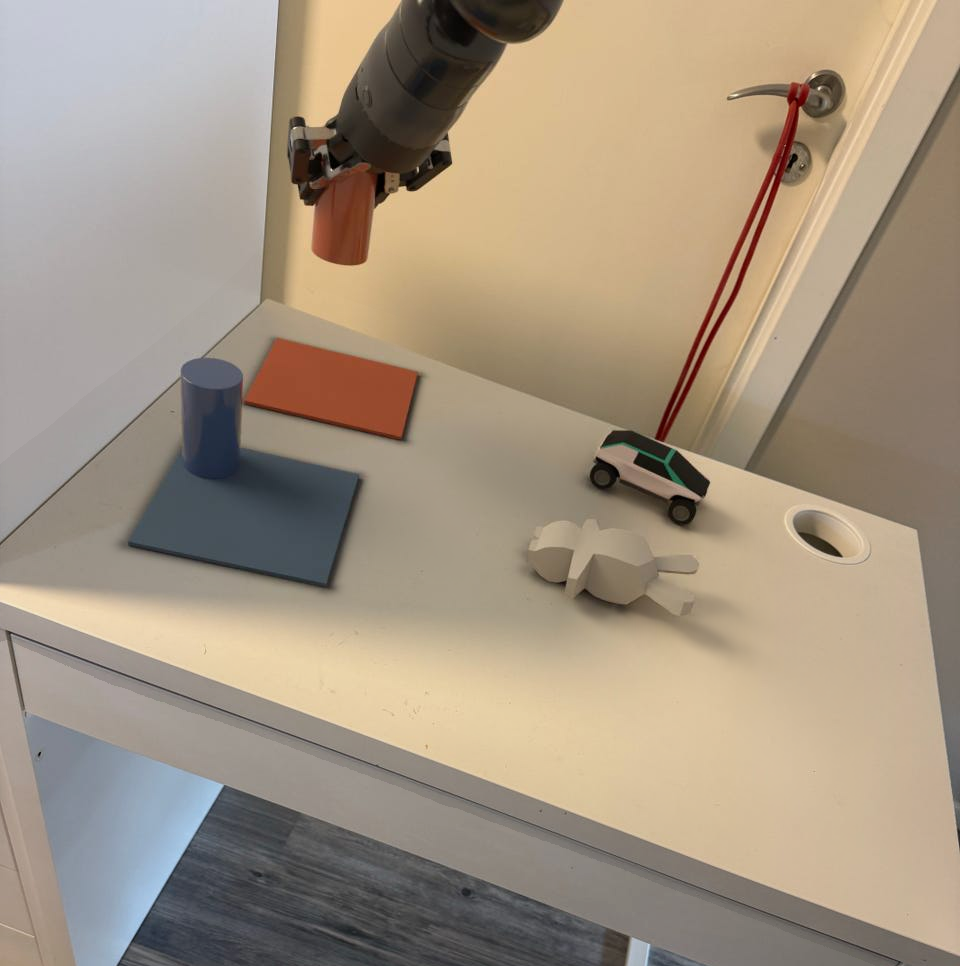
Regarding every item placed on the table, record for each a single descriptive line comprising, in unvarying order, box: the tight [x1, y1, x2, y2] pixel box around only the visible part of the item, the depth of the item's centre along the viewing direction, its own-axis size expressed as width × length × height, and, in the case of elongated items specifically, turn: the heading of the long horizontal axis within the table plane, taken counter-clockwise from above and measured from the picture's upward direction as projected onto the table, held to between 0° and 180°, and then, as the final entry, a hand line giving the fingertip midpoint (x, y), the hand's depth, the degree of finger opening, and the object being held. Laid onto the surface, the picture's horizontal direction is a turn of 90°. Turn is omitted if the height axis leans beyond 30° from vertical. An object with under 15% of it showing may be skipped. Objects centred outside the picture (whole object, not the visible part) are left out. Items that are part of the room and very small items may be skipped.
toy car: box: [589, 429, 711, 526], centre depth 91 cm, size 6×12×5 cm, turn 65°
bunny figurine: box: [525, 518, 700, 617], centre depth 78 cm, size 10×5×15 cm
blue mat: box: [127, 447, 360, 588], centre depth 76 cm, size 16×16×1 cm
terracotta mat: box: [243, 337, 419, 441], centre depth 93 cm, size 16×14×1 cm
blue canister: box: [180, 357, 244, 479], centre depth 76 cm, size 5×5×9 cm
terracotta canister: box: [310, 124, 378, 267], centre depth 77 cm, size 5×5×10 cm
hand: (337, 196), depth 79 cm, fingers closed on terracotta canister, 5 cm apart
